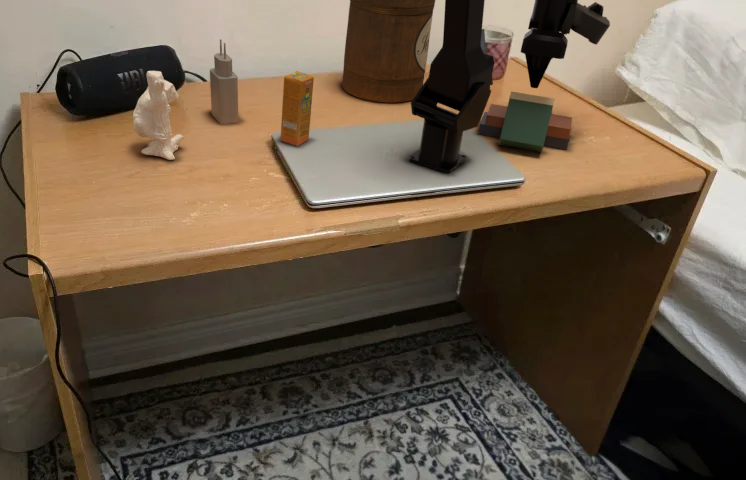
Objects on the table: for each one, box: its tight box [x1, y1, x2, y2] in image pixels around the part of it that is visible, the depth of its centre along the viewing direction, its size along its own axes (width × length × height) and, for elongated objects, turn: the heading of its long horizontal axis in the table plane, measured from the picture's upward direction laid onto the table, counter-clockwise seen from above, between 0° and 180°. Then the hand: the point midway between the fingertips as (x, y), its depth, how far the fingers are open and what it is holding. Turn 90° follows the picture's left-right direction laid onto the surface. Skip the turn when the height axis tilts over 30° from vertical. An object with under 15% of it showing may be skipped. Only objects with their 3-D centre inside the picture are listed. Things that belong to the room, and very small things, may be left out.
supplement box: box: [280, 70, 315, 147], centre depth 97 cm, size 3×3×10 cm
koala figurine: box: [132, 70, 184, 161], centre depth 90 cm, size 8×7×12 cm
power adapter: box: [209, 38, 239, 125], centre depth 103 cm, size 3×5×12 cm, turn 26°
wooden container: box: [341, 0, 436, 104], centre depth 116 cm, size 15×15×22 cm
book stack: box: [477, 103, 573, 151], centre depth 107 cm, size 6×14×4 cm, turn 72°
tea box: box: [498, 91, 556, 153], centre depth 102 cm, size 7×6×8 cm
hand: (534, 87), depth 107 cm, fingers closed
